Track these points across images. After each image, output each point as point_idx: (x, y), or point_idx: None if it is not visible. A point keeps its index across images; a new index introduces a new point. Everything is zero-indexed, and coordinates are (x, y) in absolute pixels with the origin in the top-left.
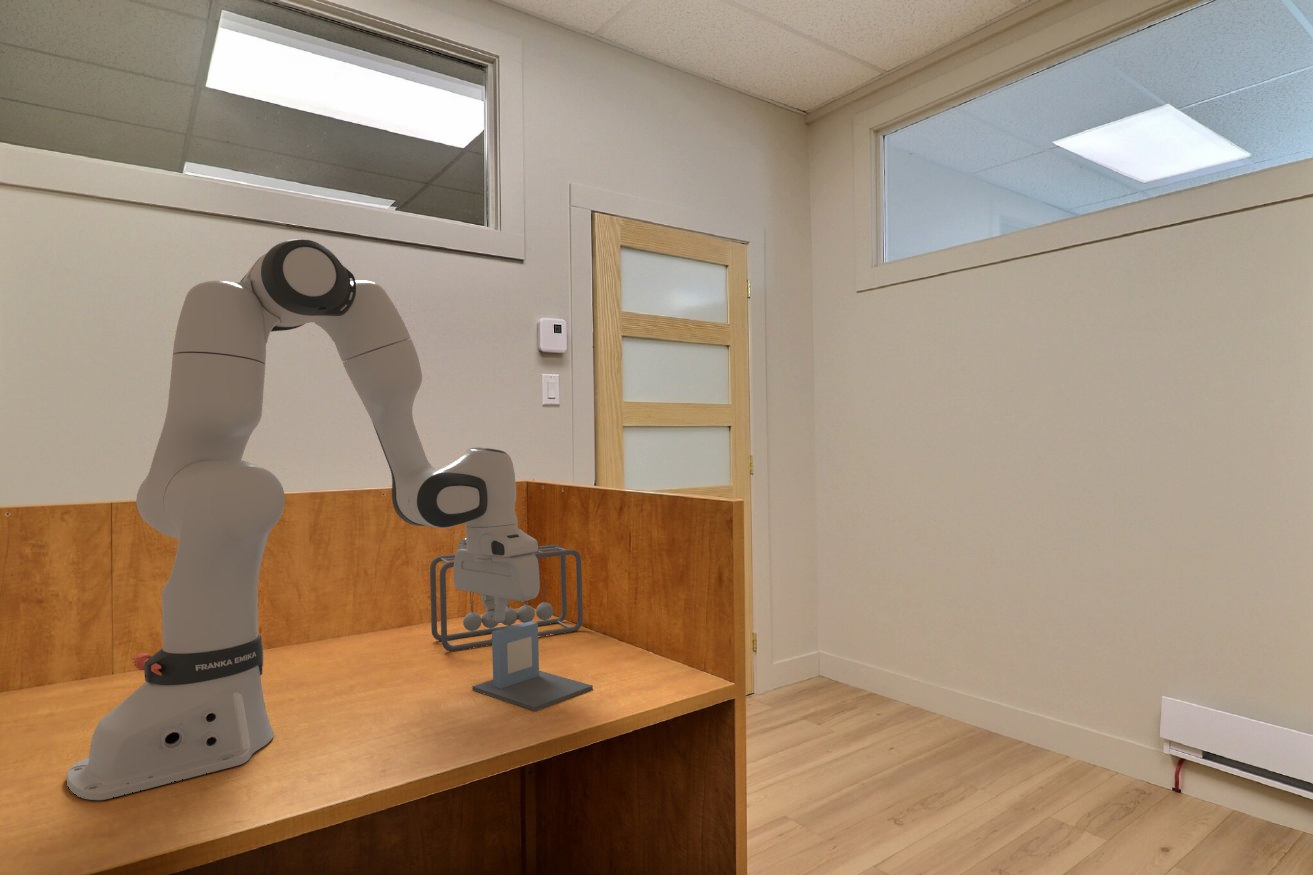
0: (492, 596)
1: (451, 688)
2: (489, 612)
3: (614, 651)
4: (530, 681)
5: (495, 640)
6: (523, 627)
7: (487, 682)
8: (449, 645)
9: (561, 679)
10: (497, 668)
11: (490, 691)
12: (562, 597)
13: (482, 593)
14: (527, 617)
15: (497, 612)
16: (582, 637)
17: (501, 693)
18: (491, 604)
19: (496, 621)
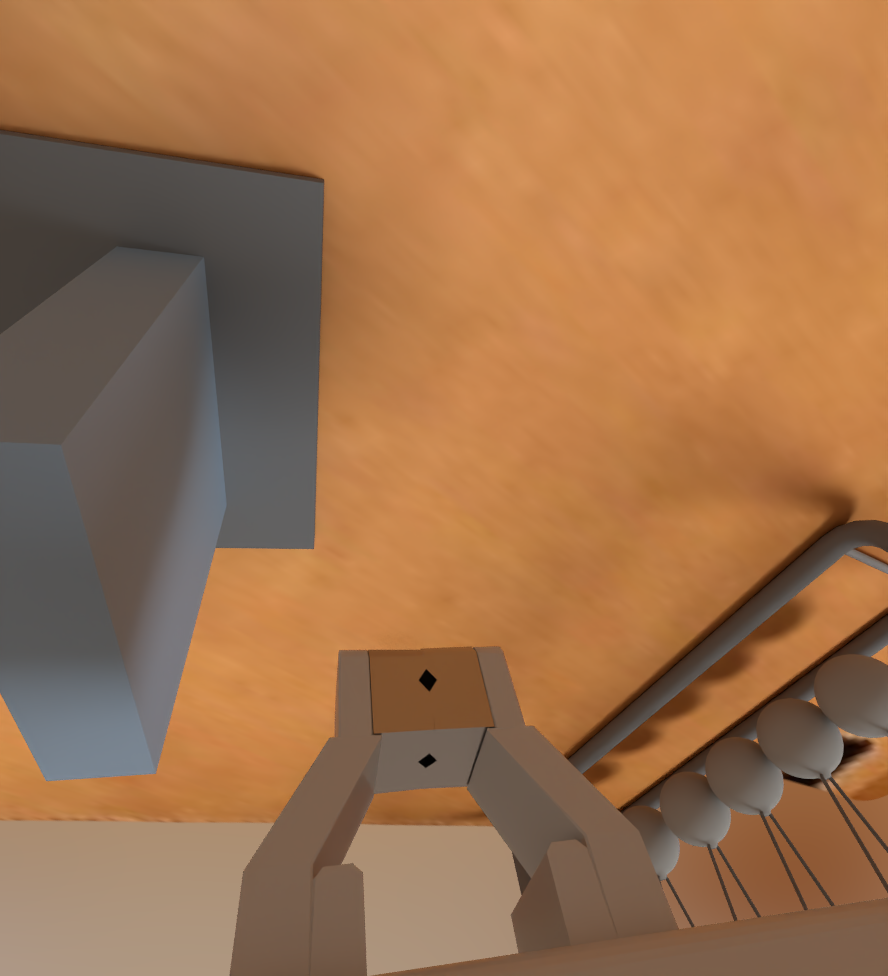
0: (528, 926)
1: (475, 131)
2: (466, 712)
3: (241, 779)
4: None
5: (21, 388)
6: (3, 683)
7: (303, 292)
8: (859, 541)
9: None
10: (103, 287)
11: (113, 163)
12: None
13: (603, 961)
14: (672, 796)
15: (339, 740)
16: (456, 791)
17: (6, 172)
18: (512, 812)
19: (350, 650)
